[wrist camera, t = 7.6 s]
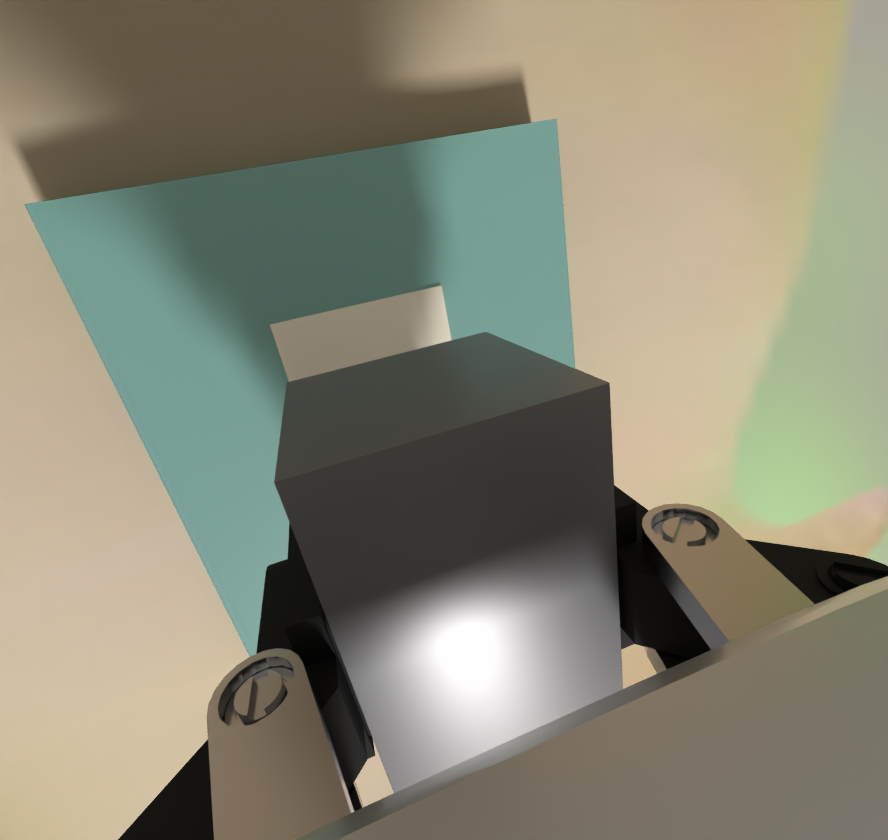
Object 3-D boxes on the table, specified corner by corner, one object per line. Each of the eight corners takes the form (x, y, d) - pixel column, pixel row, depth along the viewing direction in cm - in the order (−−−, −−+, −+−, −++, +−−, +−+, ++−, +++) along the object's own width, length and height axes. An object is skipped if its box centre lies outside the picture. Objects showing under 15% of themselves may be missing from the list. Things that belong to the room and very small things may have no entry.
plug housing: (380, 656, 12) (417, 855, 8) (286, 382, 9) (274, 482, 5) (526, 600, 13) (626, 754, 9) (485, 331, 10) (609, 383, 6)
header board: (269, 659, 19) (261, 756, 15) (55, 209, 12) (-51, 190, 8) (571, 546, 21) (626, 606, 18) (533, 131, 15) (608, 90, 11)
